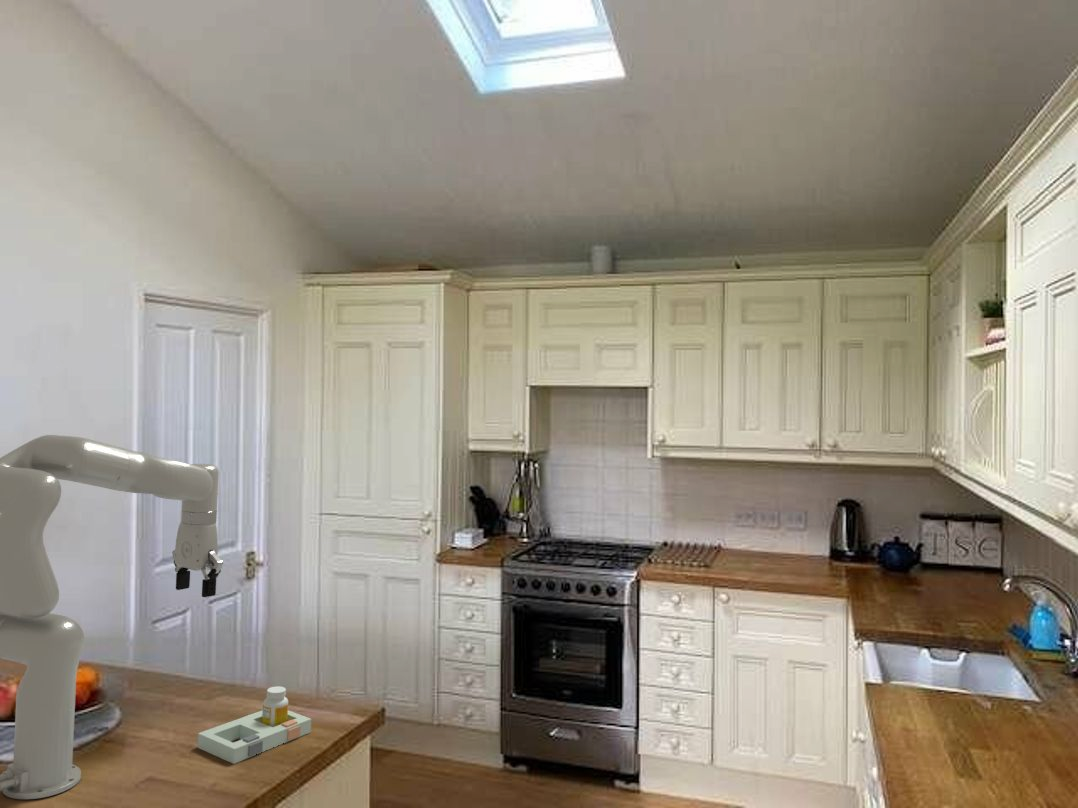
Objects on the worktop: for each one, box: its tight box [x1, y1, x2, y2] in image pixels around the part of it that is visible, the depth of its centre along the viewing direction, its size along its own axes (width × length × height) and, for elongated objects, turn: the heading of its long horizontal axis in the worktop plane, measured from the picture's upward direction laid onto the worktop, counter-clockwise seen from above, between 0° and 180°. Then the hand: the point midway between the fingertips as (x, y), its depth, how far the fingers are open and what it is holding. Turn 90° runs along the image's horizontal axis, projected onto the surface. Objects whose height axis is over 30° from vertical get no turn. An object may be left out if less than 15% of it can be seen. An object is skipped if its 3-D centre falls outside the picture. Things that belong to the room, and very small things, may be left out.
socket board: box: [196, 709, 312, 764], centre depth 176 cm, size 20×12×3 cm, turn 147°
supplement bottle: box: [261, 685, 289, 727], centre depth 180 cm, size 5×5×10 cm
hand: (195, 592), depth 187 cm, fingers open, 9 cm apart
